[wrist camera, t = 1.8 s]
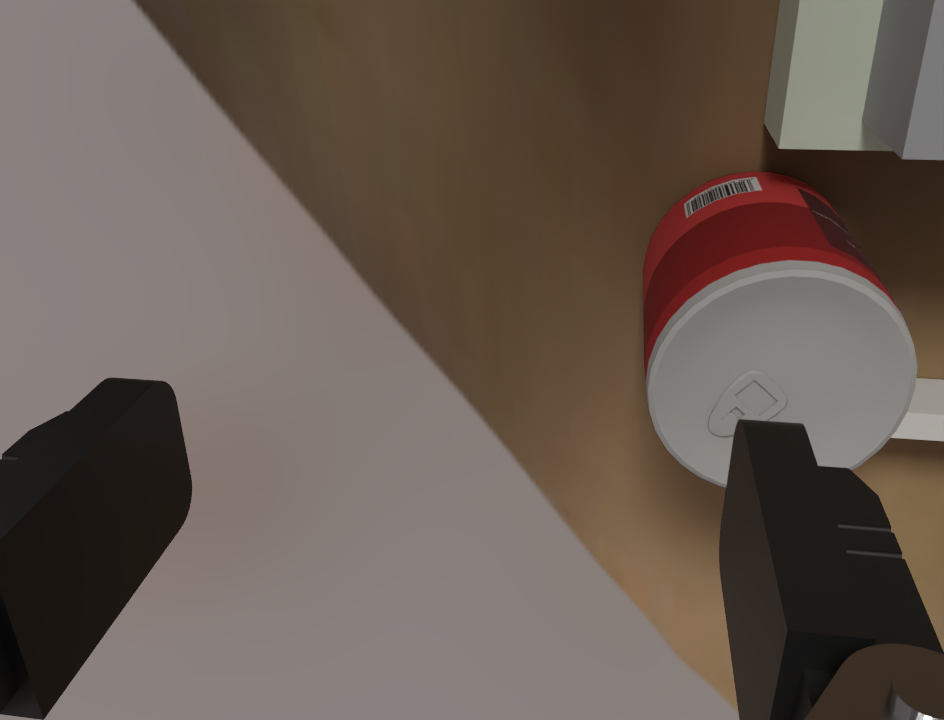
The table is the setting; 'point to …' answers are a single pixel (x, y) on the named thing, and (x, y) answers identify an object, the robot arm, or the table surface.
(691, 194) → the canned food
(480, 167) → the table surface
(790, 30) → the white open tray
